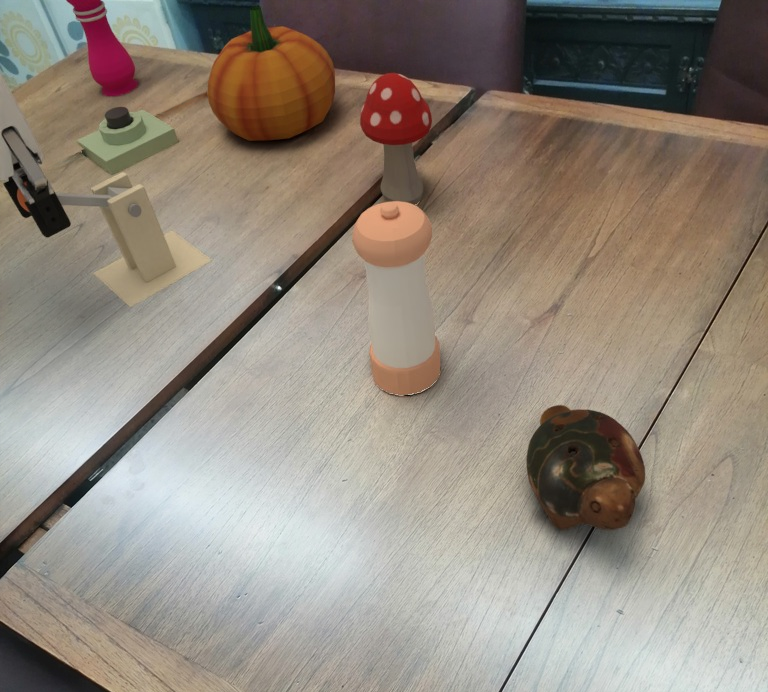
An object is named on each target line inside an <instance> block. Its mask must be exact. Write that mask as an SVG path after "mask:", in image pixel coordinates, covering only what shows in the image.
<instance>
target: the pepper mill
mask: <svg viewBox="0 0 768 692" xmlns="http://www.w3.org/2000/svg"><path fill="white" fill-rule="evenodd" d="M65 1H66V2H67V3H68V4H69V5H71V6H72V7H73V8H72V12H73V14H74V16H75V20H76V21H78V22H80V23H79V24H80V25H81V27H82V29H83V32H84V35H85V38H86V44H87V58H88V61H87V62H88V67H89V71H90V74H91V77H92V79H93V81H94V82H95V83H97V84H98V85H99V86H101V87H102V88H101V93H102V95H104V96H107V97H119V96H123V95H126V94H128V93H130V92H132V91H133V90H135V89H136V88H137V87H138V84H139V82H138V80H137V79H135V78H134V77H135V73H136V66H135V62H134V61H133V58H132V57H131V55H130V54H129V52H128V51H127V49H126V48H125V47H124V45H123V44H122V43H121V42H120V40H119V39H118V38H117V36H116V35H115V33H114V32H113V29H112V28H111V27H112V26H111V25H110V23H109V20H108V16H107V13H108V9H107V8H106V6H105V5H106V4H105V2H104V1H103V0H65Z"/></svg>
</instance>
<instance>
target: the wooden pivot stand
mask: <svg viewBox="0 0 768 692" xmlns="http://www.w3.org/2000/svg"><path fill="white" fill-rule="evenodd" d="M108 187H112V188H129V189H128V190H126V191H124V192H122V193H120V194H119V195H117V196H115V197H113V198H111V199H109V200H107V203H108V205H109V207H110V209H111V211H112V212H111V211H110V210H109V209H108V208H107V207H99V209H100V211H101V212H102V215H103V218H104V220H105V221H106V224H107V226H108V228H109V230H110V232H111V234H112V237H113V238H114V240H115V243H116V244H117V247H118V249H119V251H120V254H121V255H122V257H119V259H116V260H115V261H112V262H111V263H109V264H107V265H105V266H104V267H102V268H100V269H98V270H96V271H95V272H93V274H92V275H94V277H96V278H97V279H98V280H99V281H101V283H102V284H103V285H105V286H106V287H107V288H108V289H109V290H111V292H112V293H114V294H115V295H116V296H117V297H118V298H119V299H120V300H121V301H122V302H124V303H125V304H126V305H127V306H128V307H129V308H132V307H134V306H136V305H137V304H140V303H141V302H142V301H144V300H146V299H148V298H150V297H151V296H153V295H155V294H157V293H159V292H160V291H162V290H164V289H166V288H167V287H169V286H171V285H172V284H174V283H176V282H178V281H179V280H181V279H183V278H184V277H187V276H188V275H190V274H191V273H194V272H195V271H197V270H198V269H201V268H202V267H204V266H206V265H207V264H209V263H211V262H213V260H212V258H210V257H208V256H207V255H206V254H204V253H203V252H202V251H200V250H199V249H198V248H196V247H195V246H194V245H193V244H192V243H190V242H189V241H187V240H186V239H185V238H183V237H182V236H181V235H179V234H178V233H177V232H175V231H174V230H170V231H168V232H166V233H165V234H164V231H163V229H162V227H161V225H160V223H159V219H158V217H157V214H156V212H155V210H154V207H153V204H152V203H151V200H150V198H149V195H148V193H147V190H146V188H145V186H144V185H143V184H141V183H138V184H136V185H134V186H133V185H132V182H131V179H130V177H129V174H128V173H126V172H125V171H122V172H120V173H117V174H116V175H114V176H112V177H110V178H108V179H106V180H103V181H102V182H100V183H98V184H96V185H93V186H92V187H90V190H91V192H92V194H96V195H108Z"/></svg>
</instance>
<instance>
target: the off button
mask: <svg viewBox="0 0 768 692" xmlns="http://www.w3.org/2000/svg"><path fill="white" fill-rule="evenodd" d="M129 112H130V110H129V108H127V107H126V106H116V107H112V108H110V109H109V110H106V112H105V113H104V119H105V118H106V121H107V123H108V125H109V128H110V129H121V128H125V127H127V126H129V125H130V124H131V123H132V119H131V116H130V114H129Z"/></svg>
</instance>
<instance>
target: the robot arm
mask: <svg viewBox="0 0 768 692" xmlns="http://www.w3.org/2000/svg"><path fill="white" fill-rule="evenodd" d="M44 160H45V155H44V154H43V150H42V148H41V146H40V143H39V142H38V140H37V138H36V136H35V134H34V132H33V129H32V128H31V126H30V123H29V122H28V120H27V118H26V116H25V114H24V112H23V111H22V108H21V107H20V105H19V103H18V101H17V99H16V97H15V96H14V93H13V92H12V90H11V88H10V86H9V85H8V83H7V81H6V80H5V76H4V74H2V72H1V71H0V180H1V181H3V183H2V184H3V186H4V188H5V190H6V191H7V193H8V195H9V197H10V198H11V200H12V202H13V204H14V205H15V207H16V208H17V211H18V212H19V214H20V216H22V218H24V219H28V218H31V217H32V219H33V221H34V222H35V225H36V226H37V229H39V231H40V233H41V235H42V236H43V237H44V238H46V239H48V238H51V237H53V236H54V235H57V234H58V233H61V232H62V231H64V230H66V229H68V228H70V227H71V226H72V222H71V219H70V218H69V216H68V215H67V213H66V210H65V208H64V206H63V205H61V203H60V201H59V199H58V197H57V195H56V193H55V192H56V191H55V190H54V188H53V187H52V184H51V183H50V182H49V180H48V178H47V176H46V174H45V173H44V171H43V169H42V168H41V166H40V165H43V163H44ZM24 182H26V185H27V186H26V185H25V184H24ZM18 188H19V189H20V191H21V192H22V194H23V195H24V197H25V199H26V200H27V201H26V202H24V203H25V205H26V207H27V208H28V210H29V212H28V211H26V210H25V209H24V208H23V207H22V206H21V205H20V203H19V201H18V198H17V191H18Z"/></svg>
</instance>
